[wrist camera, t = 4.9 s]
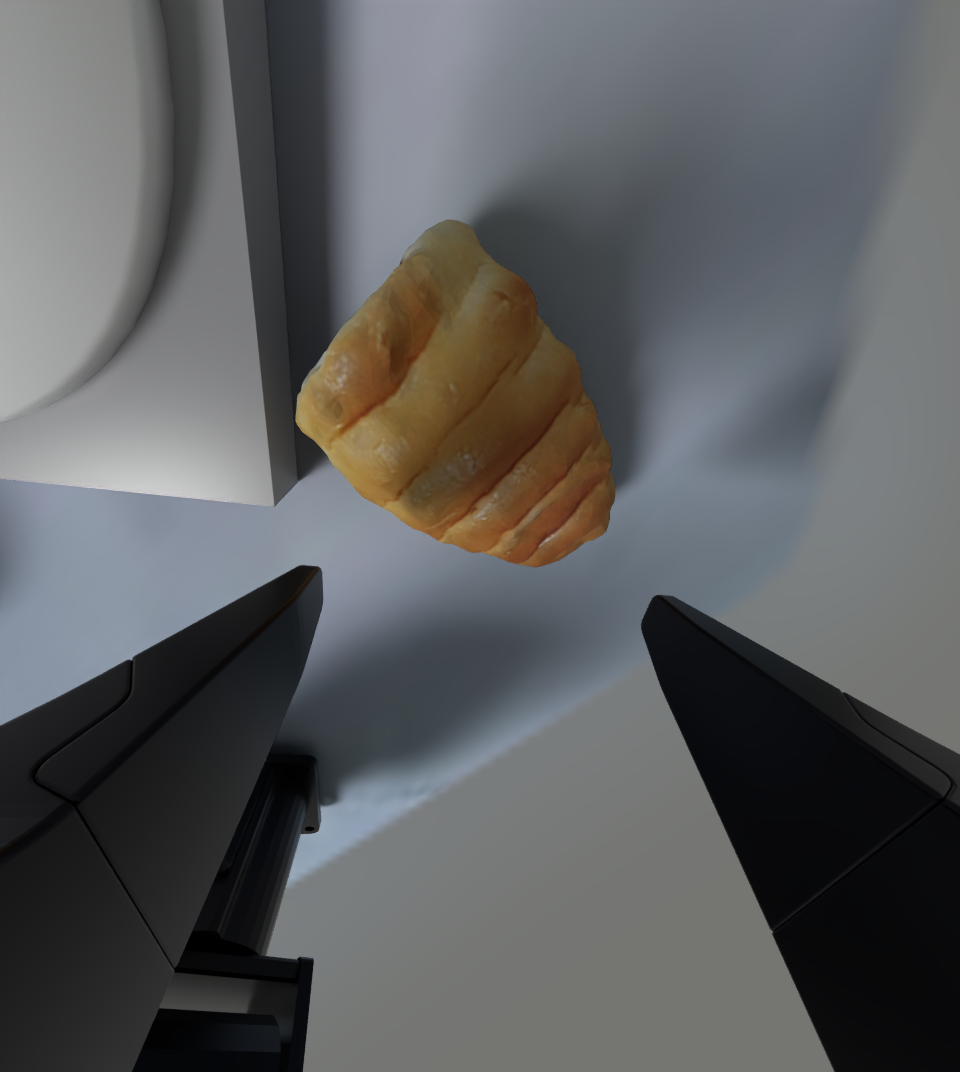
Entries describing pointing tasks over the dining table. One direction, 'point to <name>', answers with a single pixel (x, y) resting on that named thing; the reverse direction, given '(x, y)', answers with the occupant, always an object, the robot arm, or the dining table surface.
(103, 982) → the robot arm
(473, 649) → the dining table surface
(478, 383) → the pastry
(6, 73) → the scale
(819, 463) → the dining table surface
